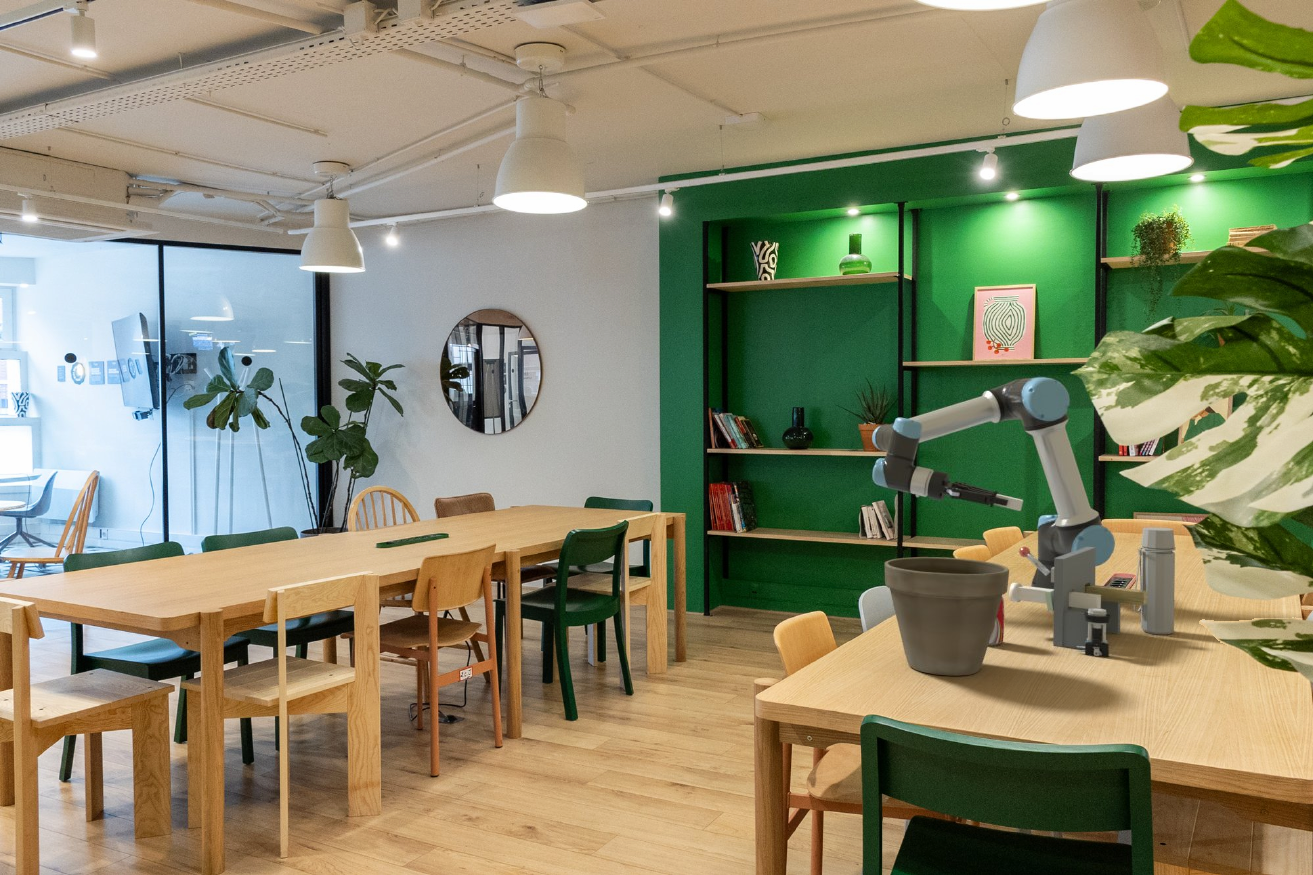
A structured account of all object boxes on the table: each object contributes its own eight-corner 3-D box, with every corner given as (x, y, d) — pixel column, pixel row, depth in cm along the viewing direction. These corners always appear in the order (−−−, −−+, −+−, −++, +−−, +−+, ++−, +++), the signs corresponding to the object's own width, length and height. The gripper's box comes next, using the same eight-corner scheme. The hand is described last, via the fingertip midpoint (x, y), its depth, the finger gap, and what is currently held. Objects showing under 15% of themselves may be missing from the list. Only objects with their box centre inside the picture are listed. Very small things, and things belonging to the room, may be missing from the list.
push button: (1076, 655, 214) (1077, 610, 213) (1077, 650, 219) (1077, 605, 218) (1110, 659, 211) (1110, 613, 211) (1109, 653, 216) (1110, 608, 216)
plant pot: (955, 648, 221) (956, 552, 220) (1034, 676, 198) (1035, 569, 197) (860, 658, 212) (861, 558, 211) (932, 689, 189) (932, 577, 188)
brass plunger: (1061, 595, 241) (1061, 578, 241) (1147, 606, 229) (1148, 587, 228) (1055, 598, 238) (1055, 580, 238) (1142, 609, 225) (1143, 590, 225)
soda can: (1005, 647, 221) (1006, 594, 221) (973, 645, 223) (973, 593, 222) (1001, 640, 228) (1002, 589, 228) (969, 638, 230) (970, 587, 229)
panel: (1082, 626, 242) (1083, 546, 241) (1120, 632, 236) (1121, 549, 236) (1049, 644, 224) (1050, 557, 223) (1090, 651, 218) (1091, 561, 217)
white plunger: (1015, 599, 237) (1016, 581, 236) (1101, 610, 224) (1101, 591, 224) (1009, 602, 233) (1009, 584, 233) (1095, 613, 221) (1096, 594, 220)
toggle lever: (1021, 572, 231) (1021, 545, 230) (1051, 575, 226) (1052, 548, 226) (1017, 573, 229) (1017, 546, 229) (1048, 576, 224) (1048, 549, 224)
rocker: (1051, 609, 226) (1048, 590, 227) (1057, 609, 226) (1053, 590, 226) (1048, 611, 224) (1044, 592, 225) (1053, 611, 224) (1050, 591, 224)
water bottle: (1166, 628, 240) (1167, 527, 239) (1180, 636, 232) (1181, 531, 231) (1127, 627, 241) (1128, 526, 240) (1139, 635, 233) (1141, 530, 232)
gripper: (934, 494, 268) (1023, 515, 256) (921, 500, 257) (1013, 523, 245) (940, 467, 266) (1029, 488, 255) (926, 473, 255) (1019, 494, 244)
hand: (1021, 505), depth 250 cm, fingers closed
